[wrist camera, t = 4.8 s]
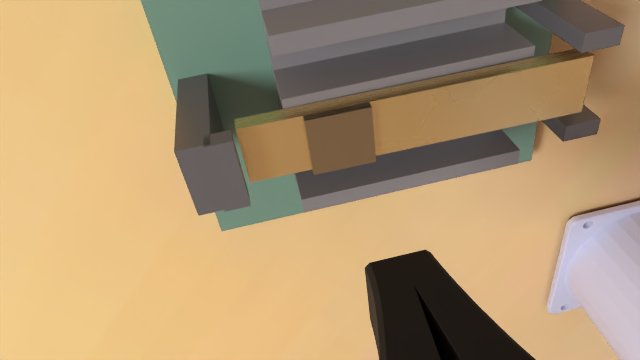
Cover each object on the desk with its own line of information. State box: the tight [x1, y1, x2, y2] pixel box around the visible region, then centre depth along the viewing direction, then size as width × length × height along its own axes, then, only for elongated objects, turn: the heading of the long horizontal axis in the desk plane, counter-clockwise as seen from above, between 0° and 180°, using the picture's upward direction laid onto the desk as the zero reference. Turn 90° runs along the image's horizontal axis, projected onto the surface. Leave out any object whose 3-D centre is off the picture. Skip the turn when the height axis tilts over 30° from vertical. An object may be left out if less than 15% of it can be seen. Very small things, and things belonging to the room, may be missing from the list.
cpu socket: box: [141, 0, 625, 231], centre depth 17 cm, size 14×12×5 cm
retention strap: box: [234, 49, 594, 183], centre depth 16 cm, size 11×2×1 cm, turn 97°
